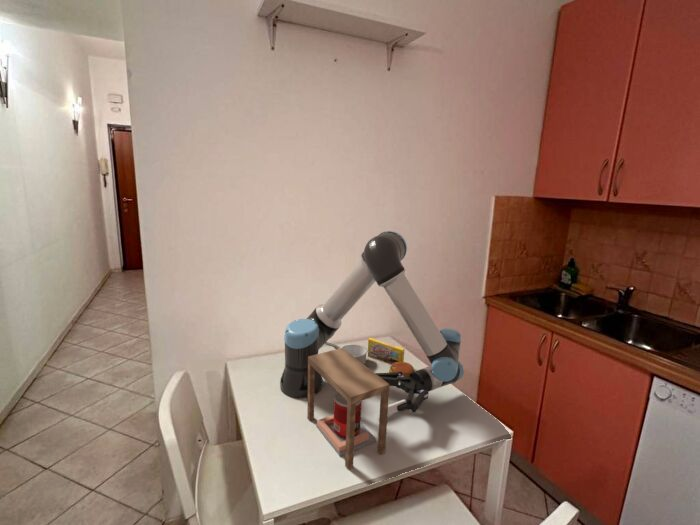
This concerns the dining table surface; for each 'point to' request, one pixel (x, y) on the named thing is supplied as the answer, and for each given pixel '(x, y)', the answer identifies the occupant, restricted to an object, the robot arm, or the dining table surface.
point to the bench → (349, 391)
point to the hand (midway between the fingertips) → (373, 398)
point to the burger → (401, 368)
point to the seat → (338, 442)
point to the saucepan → (353, 351)
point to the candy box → (385, 351)
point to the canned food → (344, 416)
